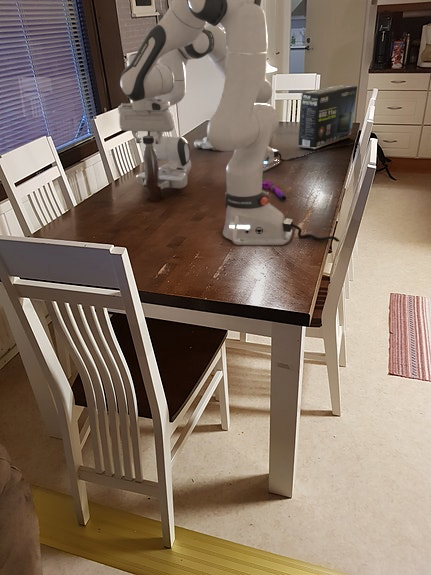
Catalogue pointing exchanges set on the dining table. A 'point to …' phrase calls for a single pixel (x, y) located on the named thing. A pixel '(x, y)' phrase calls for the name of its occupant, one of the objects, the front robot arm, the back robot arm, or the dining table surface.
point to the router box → (326, 115)
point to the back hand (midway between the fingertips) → (152, 186)
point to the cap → (148, 139)
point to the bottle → (151, 173)
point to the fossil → (204, 144)
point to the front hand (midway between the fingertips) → (148, 143)
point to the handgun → (273, 189)
